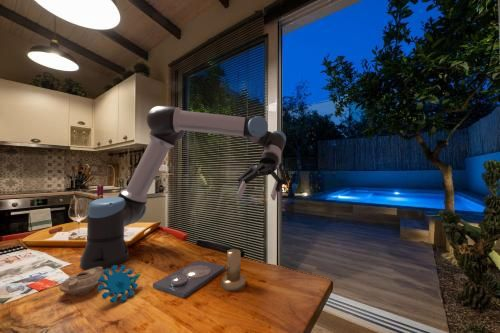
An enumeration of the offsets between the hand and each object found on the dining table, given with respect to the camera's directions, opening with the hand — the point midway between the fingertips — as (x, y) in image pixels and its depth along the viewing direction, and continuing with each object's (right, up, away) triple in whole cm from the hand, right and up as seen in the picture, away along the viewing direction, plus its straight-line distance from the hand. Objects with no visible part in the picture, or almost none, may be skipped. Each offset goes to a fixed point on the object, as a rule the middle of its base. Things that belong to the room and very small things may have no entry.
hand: (254, 197), depth 78 cm
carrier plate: (-20, -24, -9) cm, 33 cm away
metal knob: (-7, -24, -13) cm, 29 cm away
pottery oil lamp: (-48, -24, -16) cm, 56 cm away
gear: (-37, -24, -19) cm, 48 cm away
